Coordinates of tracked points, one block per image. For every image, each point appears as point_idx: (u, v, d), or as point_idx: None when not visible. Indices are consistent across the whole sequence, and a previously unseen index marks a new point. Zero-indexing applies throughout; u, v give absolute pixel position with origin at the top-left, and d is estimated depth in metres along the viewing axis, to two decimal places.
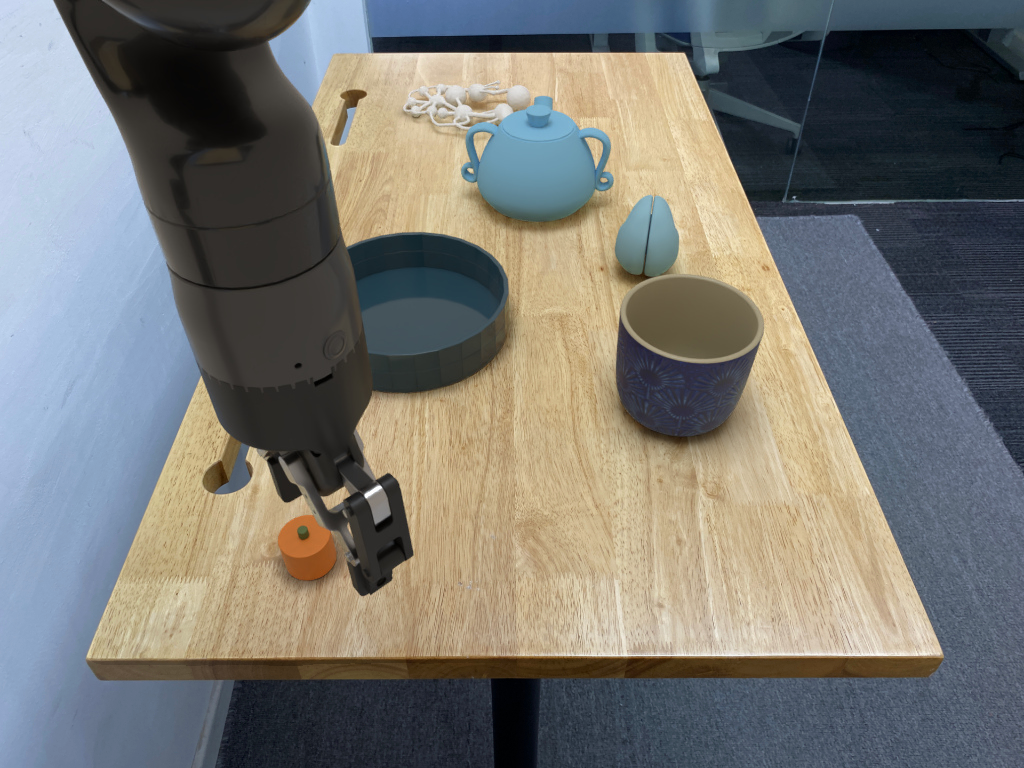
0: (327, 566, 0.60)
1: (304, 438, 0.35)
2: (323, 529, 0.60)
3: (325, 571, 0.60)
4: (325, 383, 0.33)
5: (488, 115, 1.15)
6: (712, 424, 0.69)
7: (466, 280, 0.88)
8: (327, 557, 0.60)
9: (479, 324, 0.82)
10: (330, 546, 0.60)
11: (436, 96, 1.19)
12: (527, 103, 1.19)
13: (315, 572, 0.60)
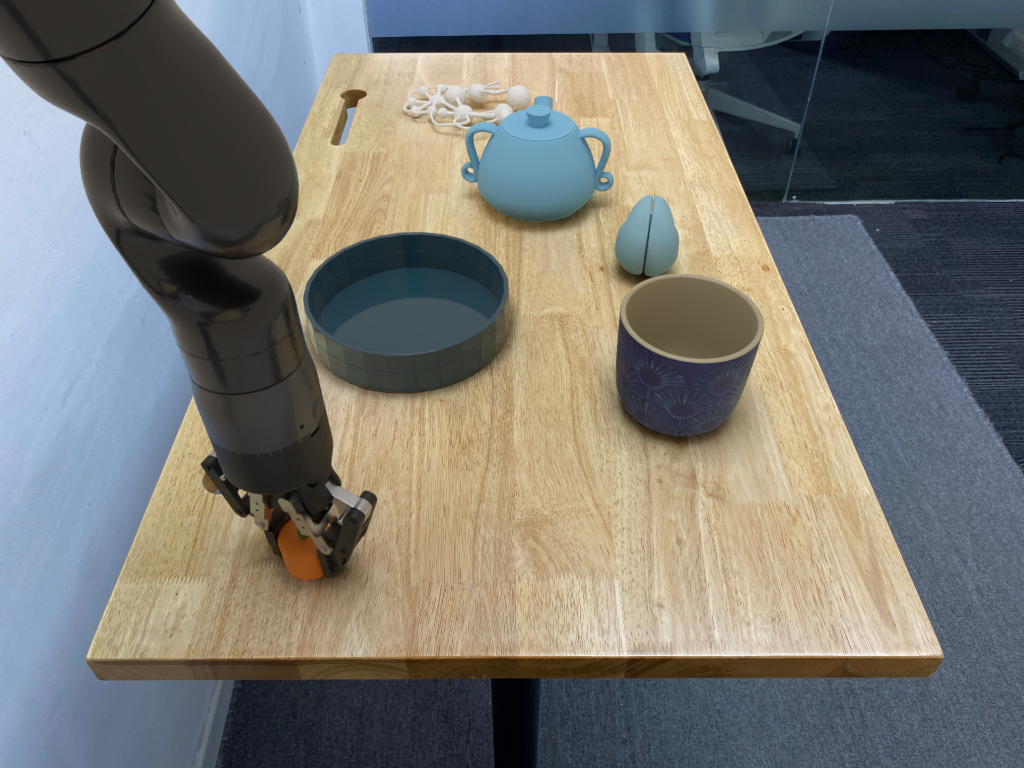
0: None
1: (307, 475, 0.50)
2: None
3: None
4: (316, 433, 0.49)
5: (488, 115, 1.15)
6: (712, 424, 0.69)
7: (466, 280, 0.88)
8: None
9: (479, 324, 0.82)
10: None
11: (436, 96, 1.19)
12: (527, 103, 1.19)
13: (315, 572, 0.60)
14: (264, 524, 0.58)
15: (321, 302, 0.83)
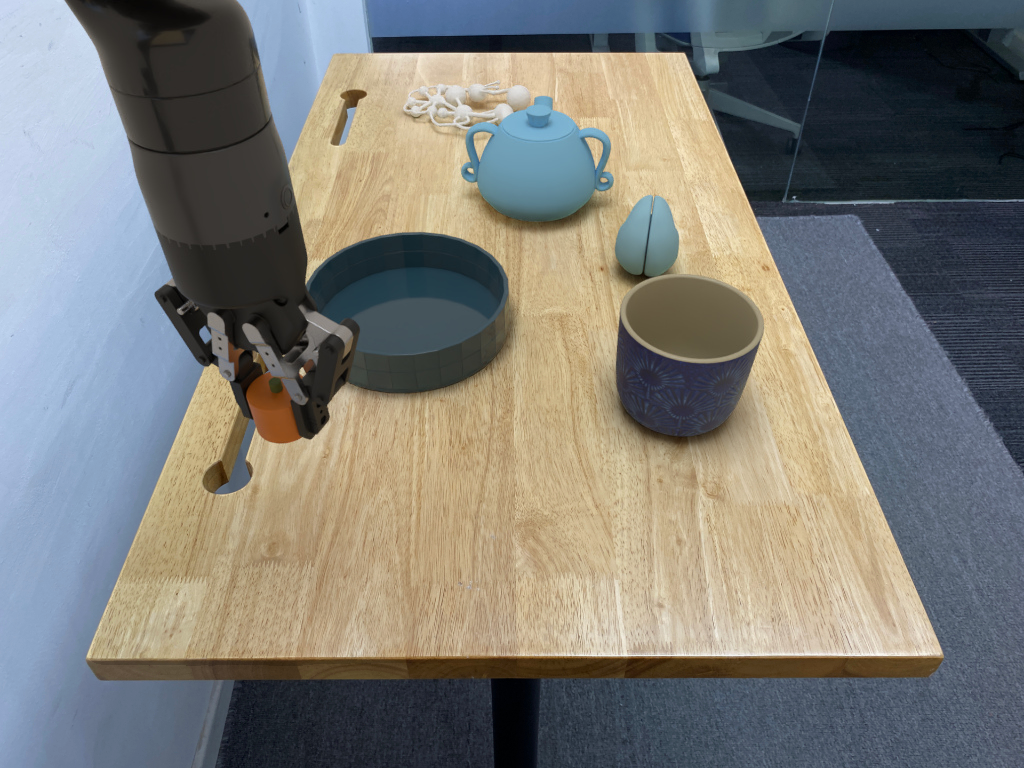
0: None
1: (275, 286, 0.42)
2: None
3: None
4: (285, 231, 0.41)
5: (488, 115, 1.15)
6: (712, 424, 0.69)
7: (466, 280, 0.88)
8: None
9: (479, 324, 0.82)
10: None
11: (436, 96, 1.19)
12: (527, 103, 1.19)
13: (290, 433, 0.52)
14: (230, 372, 0.50)
15: (321, 302, 0.83)
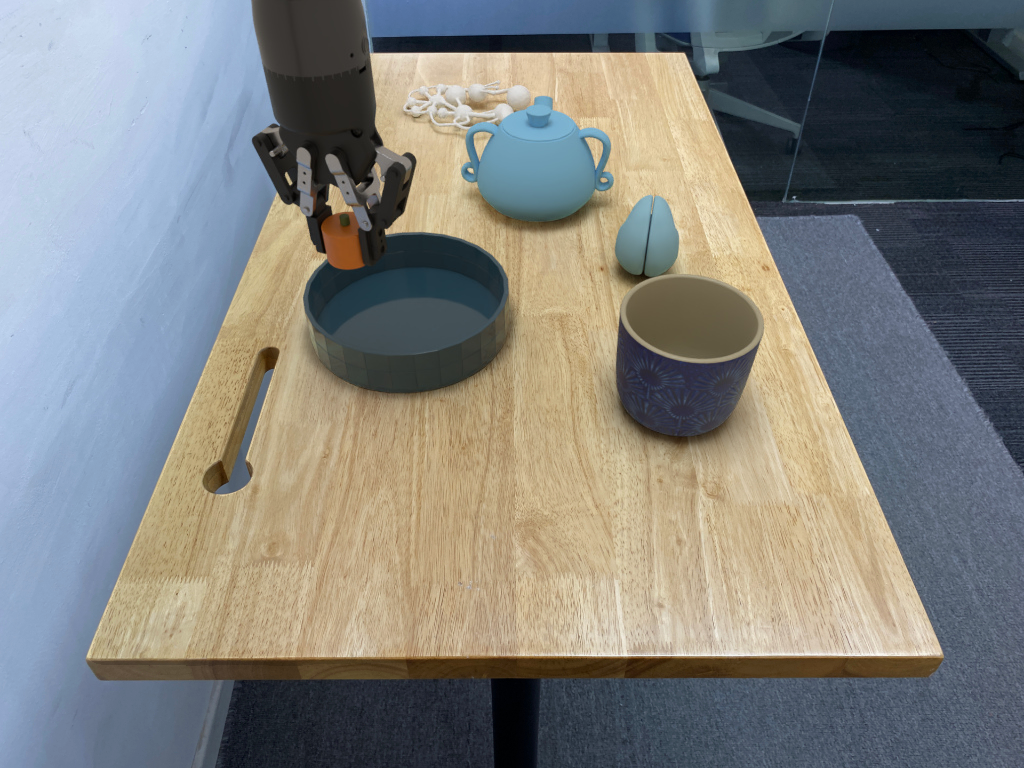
0: None
1: (354, 117, 0.55)
2: None
3: None
4: (363, 72, 0.54)
5: (488, 115, 1.15)
6: (712, 424, 0.69)
7: (466, 280, 0.88)
8: None
9: (479, 324, 0.82)
10: None
11: (436, 96, 1.19)
12: (527, 103, 1.19)
13: (355, 259, 0.64)
14: (309, 207, 0.63)
15: (321, 302, 0.83)
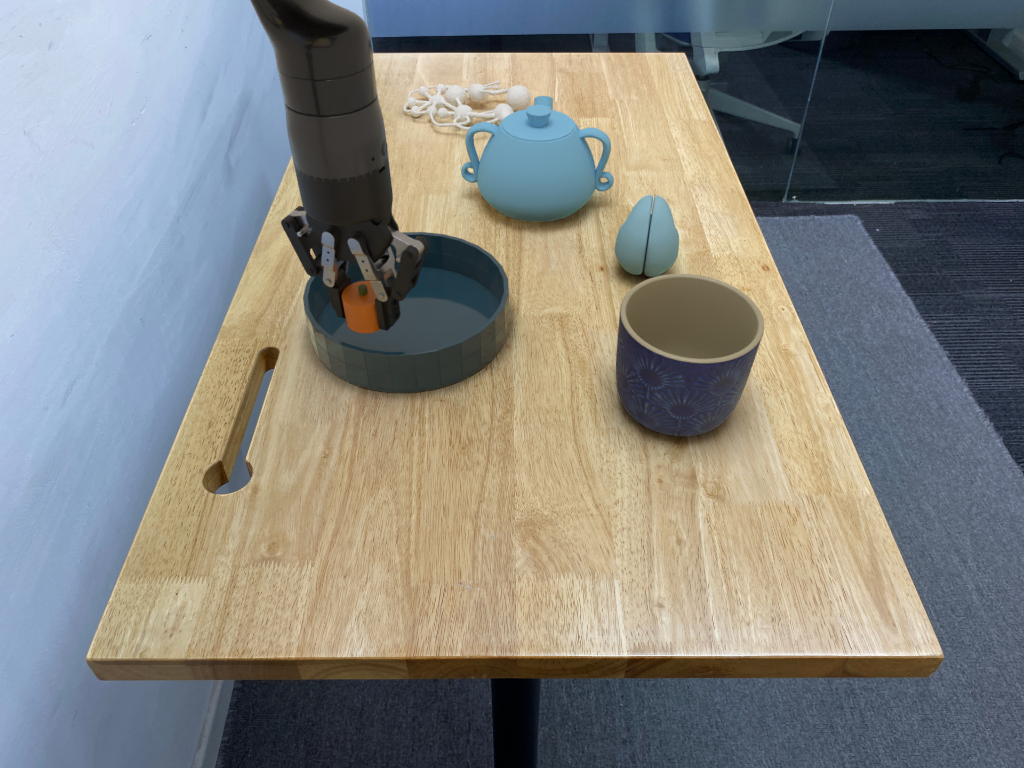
0: None
1: (374, 209, 0.62)
2: None
3: None
4: (382, 171, 0.61)
5: (488, 115, 1.15)
6: (712, 424, 0.69)
7: (466, 280, 0.88)
8: None
9: (479, 324, 0.82)
10: None
11: (436, 96, 1.19)
12: (527, 103, 1.19)
13: (372, 325, 0.72)
14: (331, 280, 0.70)
15: (321, 302, 0.83)
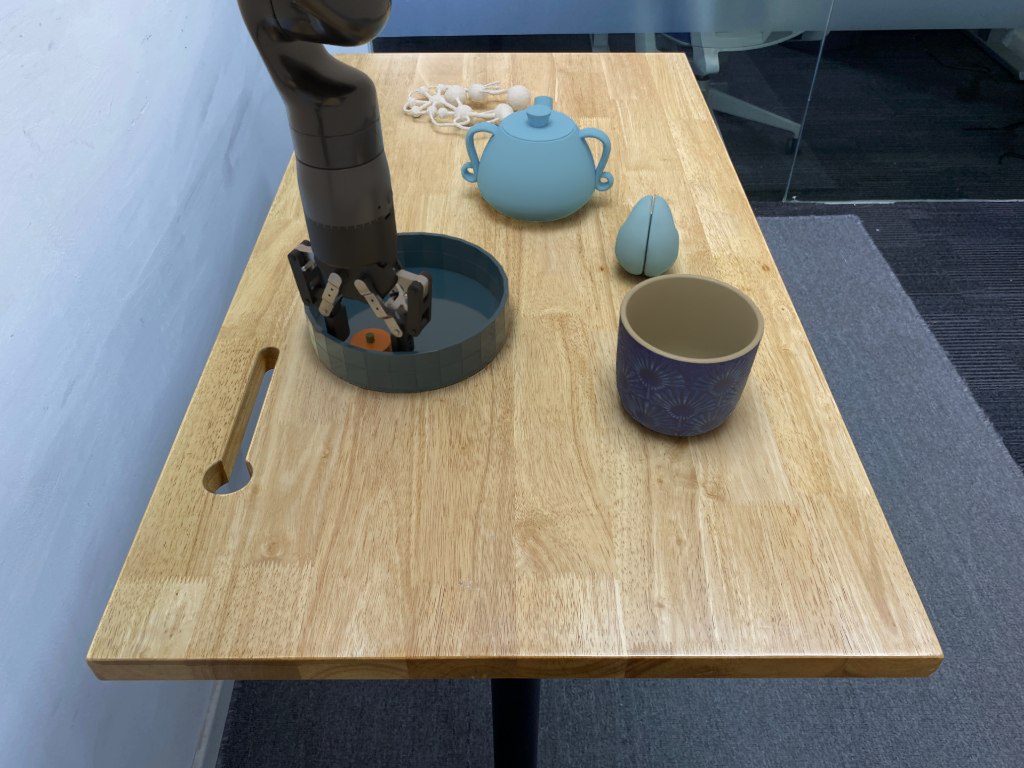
0: None
1: (380, 253, 0.65)
2: (385, 337, 0.76)
3: None
4: (388, 218, 0.64)
5: (488, 115, 1.15)
6: (712, 424, 0.69)
7: (466, 280, 0.88)
8: None
9: (479, 324, 0.82)
10: (391, 350, 0.76)
11: (436, 96, 1.19)
12: (527, 103, 1.19)
13: None
14: (327, 309, 0.73)
15: None
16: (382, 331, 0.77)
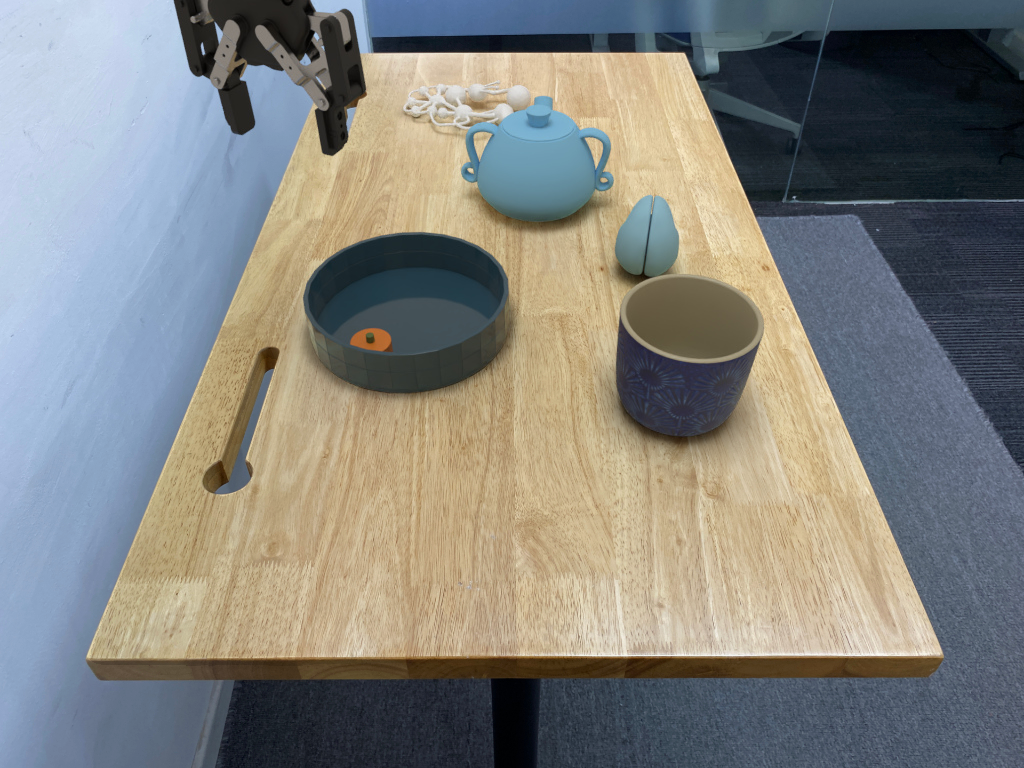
0: None
1: None
2: (385, 337, 0.76)
3: None
4: None
5: (488, 115, 1.15)
6: (712, 424, 0.69)
7: (466, 280, 0.88)
8: None
9: (479, 324, 0.82)
10: (391, 350, 0.76)
11: (436, 96, 1.19)
12: (527, 103, 1.19)
13: None
14: (219, 78, 0.58)
15: (321, 302, 0.83)
16: (382, 331, 0.77)
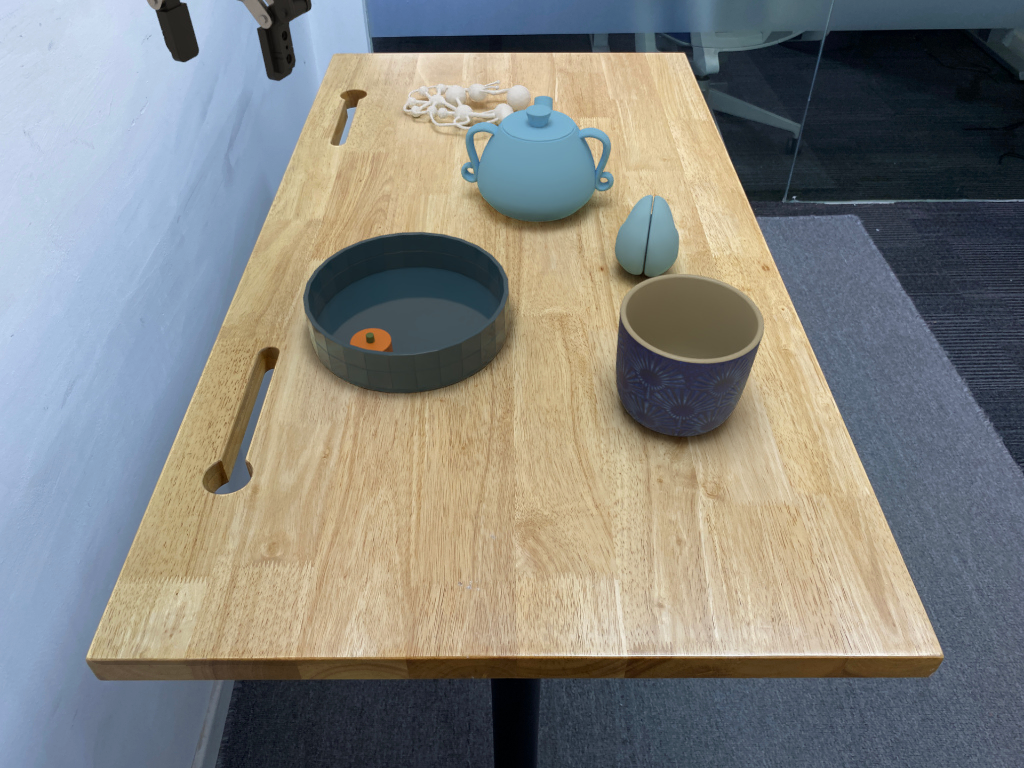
0: None
1: None
2: (385, 337, 0.76)
3: None
4: None
5: (488, 115, 1.15)
6: (712, 424, 0.69)
7: (466, 280, 0.88)
8: None
9: (479, 324, 0.82)
10: (391, 350, 0.76)
11: (436, 96, 1.19)
12: (527, 103, 1.19)
13: None
14: None
15: (321, 302, 0.83)
16: (382, 331, 0.77)
